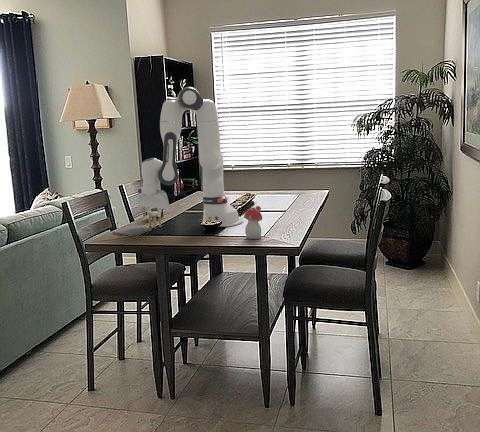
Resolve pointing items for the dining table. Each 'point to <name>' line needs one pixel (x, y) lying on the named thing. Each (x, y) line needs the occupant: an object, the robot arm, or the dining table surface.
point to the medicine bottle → (156, 210)
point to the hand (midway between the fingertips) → (154, 215)
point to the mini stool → (154, 219)
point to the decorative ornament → (253, 223)
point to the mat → (132, 231)
